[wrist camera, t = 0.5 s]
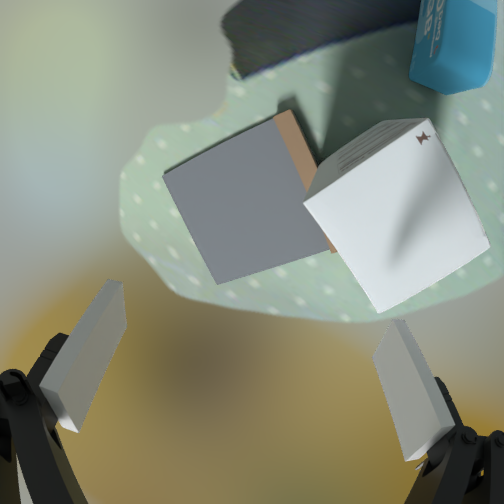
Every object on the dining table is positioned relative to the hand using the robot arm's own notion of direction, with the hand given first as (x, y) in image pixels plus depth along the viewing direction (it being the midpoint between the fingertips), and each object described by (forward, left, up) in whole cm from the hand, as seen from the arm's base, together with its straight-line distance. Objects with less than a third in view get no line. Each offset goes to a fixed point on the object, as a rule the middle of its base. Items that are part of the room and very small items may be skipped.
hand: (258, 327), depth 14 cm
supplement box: (-8, 0, -23) cm, 24 cm away
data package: (-21, -12, -23) cm, 33 cm away
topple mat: (+6, -2, -23) cm, 24 cm away
